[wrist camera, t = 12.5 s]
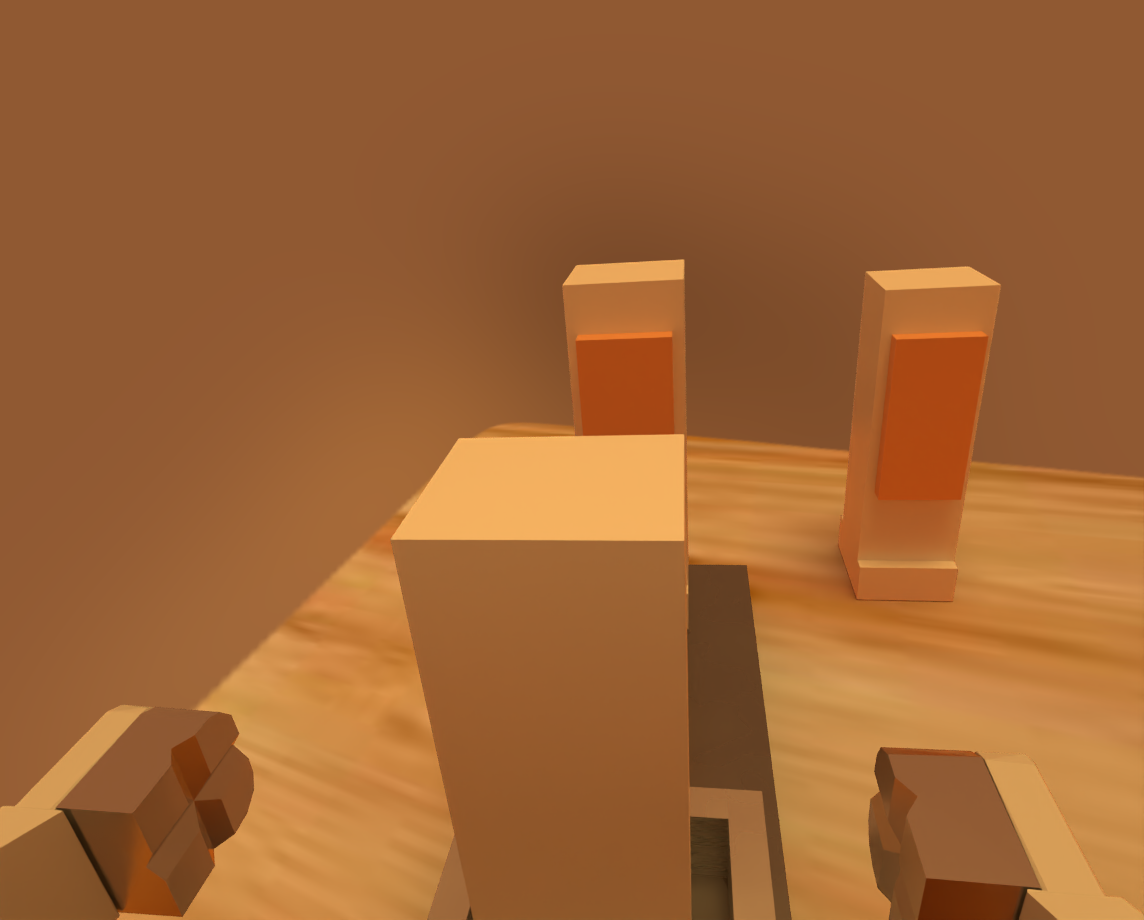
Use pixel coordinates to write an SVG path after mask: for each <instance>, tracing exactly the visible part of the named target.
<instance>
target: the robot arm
mask: <svg viewBox="0 0 1144 920" xmlns="http://www.w3.org/2000/svg"><path fill="white" fill-rule="evenodd" d="M238 735H239V732H238V730H237V727H236V725H235V723H234V720H233V718H232V716H231V715H229V714H225V713H220V712H210V711H198V710H186V709H174V708H161V707H142V706H129V705H121V706H119V707H116V708H114V709H112V710H110V711H107V712H106V713H105V714H104V715H103V717H102V718H101V719H100V720H99V721H98V722H97V723H96V724H95V725H94V726H93V727H92V728H91V729H90V730H89V731H88V732H87V733H86V734H85V735H84V736H83V737H82V738H81V739H80V740H79V741H78V742H77V743H76V744H75V745H74V746H73V747H72V748H71V749H70V750H69V751H68V752H67V753H66V754H65V756H64V757H63V758H62V759H61V760H60V761H59V762H58V763H57V764H56V765H55V766H54V767H53V768H52V769H51V770H50V771H49V772H48V773H47V774H46V775H45V776H44V777H43V778H42V779H41V780H40V781H39V782H38V783H37V784H36V785H35V786H34V787H33V788H32V789H31V790H30V791H29V793H27V795H25V797H24V798H23V799H22V800H21V801H20V802H19V803H18V804H17V805H16V806H3V807H1V808H0V920H116V919H117V918H119V916H120V915H119V913H118V912H121V913H135V914H149V915H163V916H177V917H183V915H184V914H185V912H186V911H187V909H188V907H189V906H190V904H191V903H192V901H193V899H194V898H195V896H196V895H197V893H198V892H199V890H200V888H201V887H202V885H203V884H204V882H205V881H206V879H207V877H208V876H209V874H210V873H211V871H212V869H213V868H214V866H215V861H214V848H216V847H217V846H218V845H220V844H221V843H223V842H224V841H225V840H227V839H228V838H230V837H231V836H232V835H234V834H235V833H236V831H237V829H238V828H239V826H240V824H241V823H242V821H243V819H244V818H245V816H246V814H247V812H248V808H249V805H250V801H251V798H252V794H253V791H254V781H253V770H252V767H251V765H250V762H249V759H248V758H247V757H246V756H245V755H244V754H243V753H242V752H241V751H239V750H238V749H237V748H236V747H235V746H234V743H235V741H236V739H237V737H238ZM874 772H875V775H876V779H877V783H878V787H879V790H880V792H879V793H877V794H876V795H875V796H874V797H873V798H871V800H870V810H869V820H868V821H869V846H870V852H871V858H872V865H873V869H874V874H875V878H876V883H877V887H878V889H879V890H880V891H881V892H882V893H883V894H884V895H885V896H886V897H887V898H888V899H889V900H890V902H891V908H890V915H889V920H1144V914H1143V913H1141V912H1140V911H1139V910H1138V909H1136V908H1135V907H1134V906H1133V905H1131V904H1130V903H1129V902H1128V901H1127V900H1125V899H1124V898H1122V897H1114V896H1106V895H1105V893H1104V891H1103V889H1102V887H1101V885H1100V884H1099V882H1098V880H1097V878H1096V876H1095V874H1094V872H1093V871H1092V869H1091V867H1090V865H1089V863H1088V861H1087V859H1086V857H1085V856H1084V854H1083V852H1082V850H1081V848H1080V846H1079V844H1078V843H1077V841H1076V839H1075V837H1074V835H1073V833H1072V831H1071V829H1070V828H1069V826H1068V824H1067V822H1066V820H1065V818H1064V816H1063V815H1062V813H1061V811H1060V809H1059V807H1058V805H1057V803H1056V801H1055V800H1054V798H1053V796H1052V794H1051V792H1050V790H1049V788H1048V787H1047V785H1046V783H1045V781H1044V779H1043V777H1042V775H1041V773H1040V772H1039V770H1038V768H1037V766H1036V764H1035V762H1034V761H1033V760H1032V759H1031V758H1029V757H1028V756H1027V755H1026V754H1017V753H996V752H975V753H973V752H971V751H956V750H933V749H910V748H887V747H881V748H880V750H879V752H878V754H877V758H876V764H875V771H874Z"/></svg>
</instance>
